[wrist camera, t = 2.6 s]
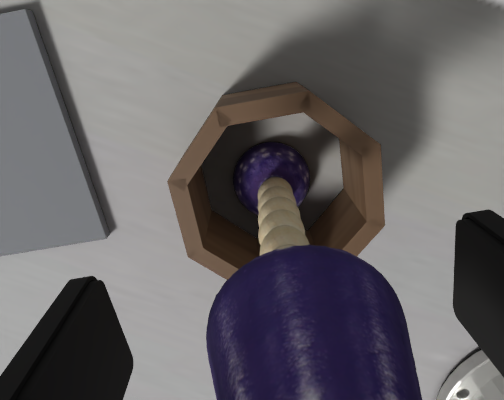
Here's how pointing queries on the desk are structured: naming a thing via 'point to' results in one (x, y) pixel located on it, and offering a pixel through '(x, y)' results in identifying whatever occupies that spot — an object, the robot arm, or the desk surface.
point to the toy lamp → (303, 306)
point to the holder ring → (328, 224)
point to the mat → (39, 151)
